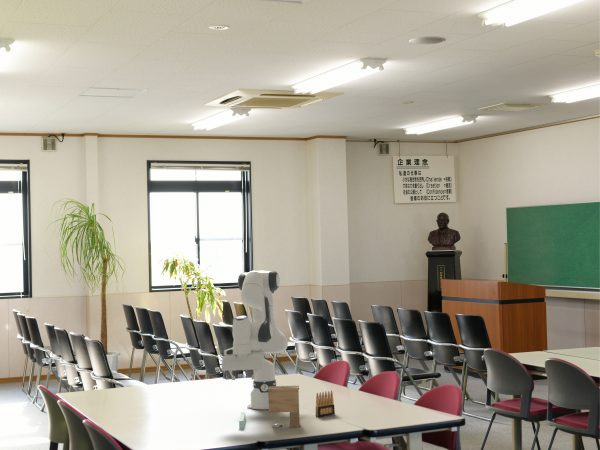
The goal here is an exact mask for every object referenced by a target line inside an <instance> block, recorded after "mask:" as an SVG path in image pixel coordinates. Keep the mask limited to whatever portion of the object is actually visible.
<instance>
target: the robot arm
mask: <svg viewBox="0 0 600 450" xmlns="http://www.w3.org/2000/svg"><path fill="white" fill-rule="evenodd" d="M237 279H238V280H237V285H238V289H239V290H240V297H241V300H242V302H243V303H244V304H245V305H246V306H248V307H250V308H251V309H252V315H251V316H252V321H253V322H250V321H251V320H250V317H249V316H247V315H237V316H235V317H234V318H233V319H232V339H233V342H232V347H229V348H228V349H227V348H226V349H225V350H223V354H224V355H223V357H222V360H221V371H225V372H227V371H228V373H229V374H230V377H231V381H236V376H235V375H233V371H250V370H253V374H251V380H253V383H252V387H253V389H252V390H251V391H250V404H248V405H247V409H252V410H253V409H254V410H269V398H268V387H270V386H277V380H276V369H275V368H276V367H275V364H274V363H273V362H271V361H270V360H268V359H266V358H265V354H267V355H268V354H279V353H283V352H285V351H286V350H287V349H288V345H289V340H288V338H287V336H286V335H285V334H284V333H283V332H282V331H281V330H280V329H279V328H278V326H277V324H276V322H275V317H274V316H275V315H274V299H273V294H274V293H275V292H276V291H277V290H278V288H279V287H280V284H281V283H280V282H281V279H280V276H279V273H278V271H276V270H251V271H249V272H247V271H245V272H242V273H240V274H239V275H238V278H237Z"/></svg>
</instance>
